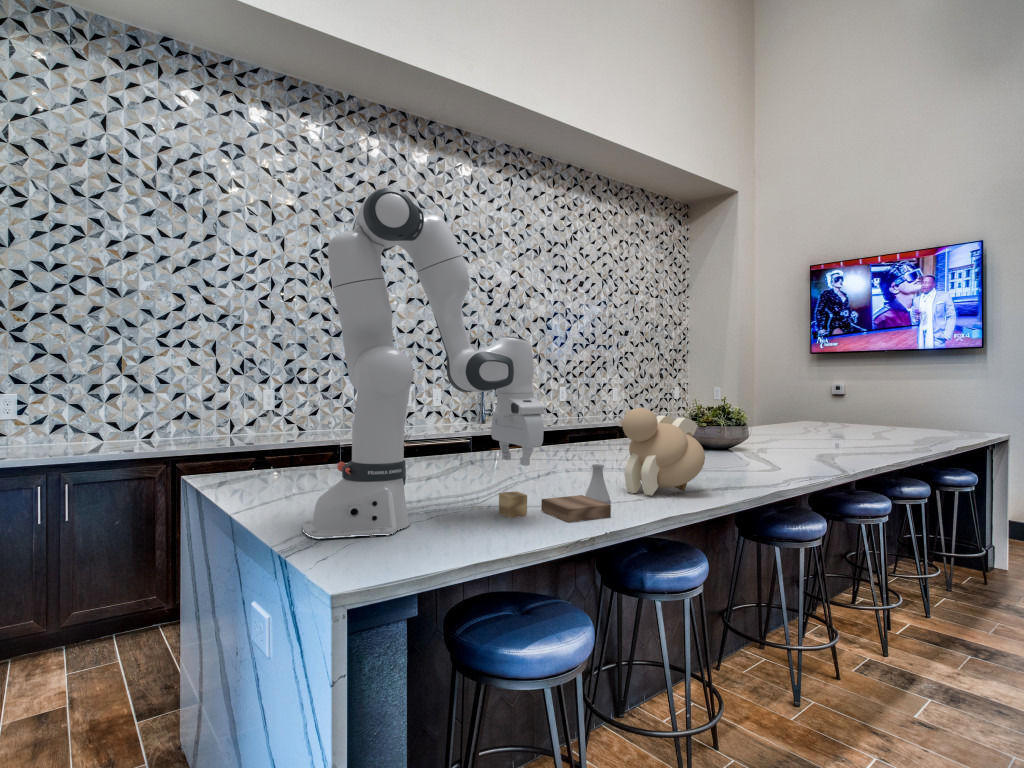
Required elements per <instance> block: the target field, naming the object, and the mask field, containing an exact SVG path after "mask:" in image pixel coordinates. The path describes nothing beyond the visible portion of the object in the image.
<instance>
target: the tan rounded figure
mask: <svg viewBox="0 0 1024 768" xmlns="http://www.w3.org/2000/svg"><path fill="white" fill-rule="evenodd" d="M623 414H624V418H622V417H619V418H618V420H617V426H618V427H620V428H621V427H622V430H623V431H622V432H624V435H625V436H626V437H627V438H628V439H629V440H630V443H629V446H628V451H629V455H630V456H629V458H628V460H627V461H626V464H625V468H624V481H625V487H626V490H627V493H628V492H630V493H629V494H631V493H636V494H637V492H638V491H639V490H640V488H641V487H642V491H643V494H644V495H647V496H653V495H654V493H656V491H657V489H658V488H663V489H670V488H674V489H677V490H680V491H683V492H685V491H686V487H687V486H688V485H687V484H688V483H690V482H691V481H692V480H694V479H695V478H696V477H697V476H698V475H699V474H700V473H701V471H702V469H703V468H704V465H705V460H706V454H705V450H704V448H703V446H702V445H701V443H700V442H699V441H698V439H696V438H695V437H693V436H694V435H695V433H696V431H697V429H698V427H699V425H698V423H696V421H694V420H692V419H691V418H689V417H688V418H687V417H677V418H676V419H675V418H673V417H672V416H668V415H657V416H656V414H655V413H654V412H653V411H652V410H650V409H648V408H646V407H636V408H635V407H634V408H633V409H631V410H630V409H629V408H628V407H625V408H624V409H623Z"/></svg>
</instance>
